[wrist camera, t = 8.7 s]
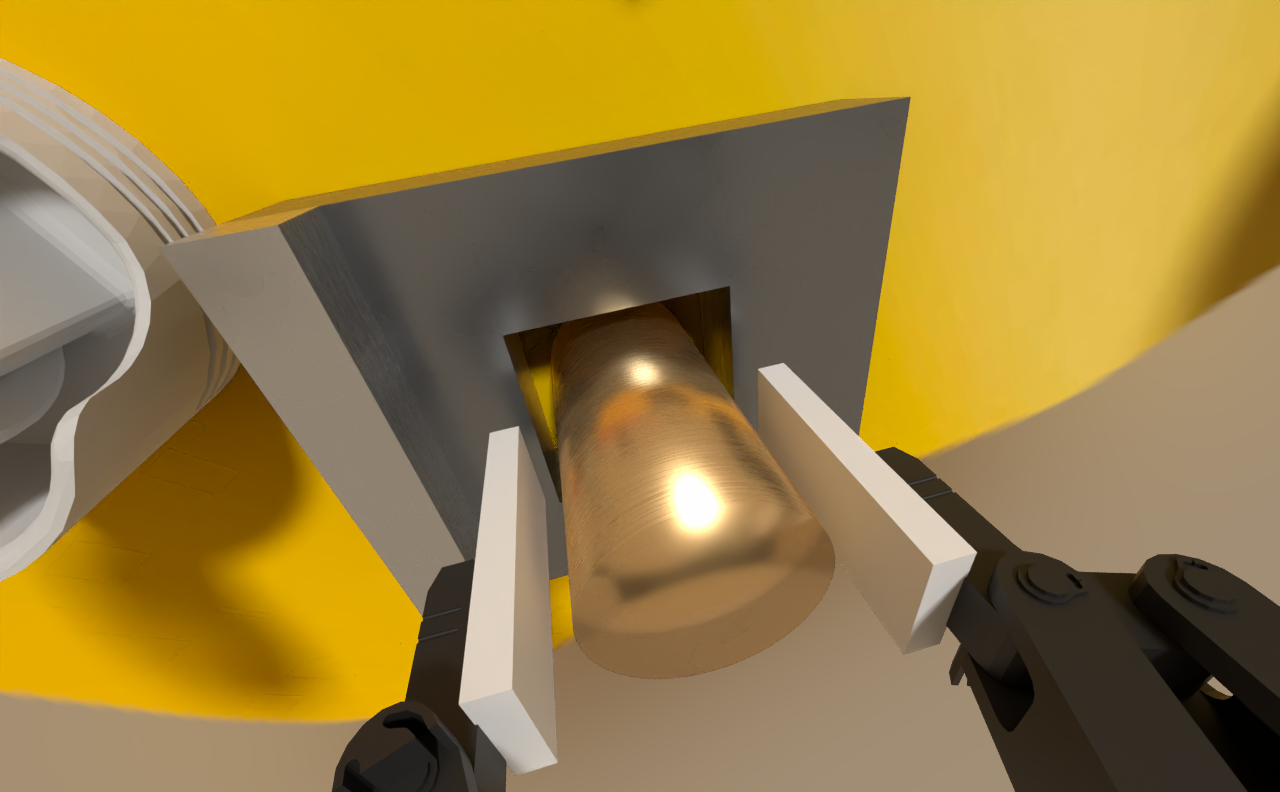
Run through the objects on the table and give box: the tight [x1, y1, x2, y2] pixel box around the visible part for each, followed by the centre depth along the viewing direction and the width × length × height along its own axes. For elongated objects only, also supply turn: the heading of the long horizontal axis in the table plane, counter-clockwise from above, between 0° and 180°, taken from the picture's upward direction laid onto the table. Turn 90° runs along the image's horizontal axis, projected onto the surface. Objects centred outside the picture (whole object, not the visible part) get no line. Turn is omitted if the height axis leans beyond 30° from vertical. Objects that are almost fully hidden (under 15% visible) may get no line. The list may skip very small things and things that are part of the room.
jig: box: [159, 97, 910, 616], centre depth 15 cm, size 16×14×5 cm
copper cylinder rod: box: [551, 302, 835, 679], centre depth 13 cm, size 5×5×10 cm
